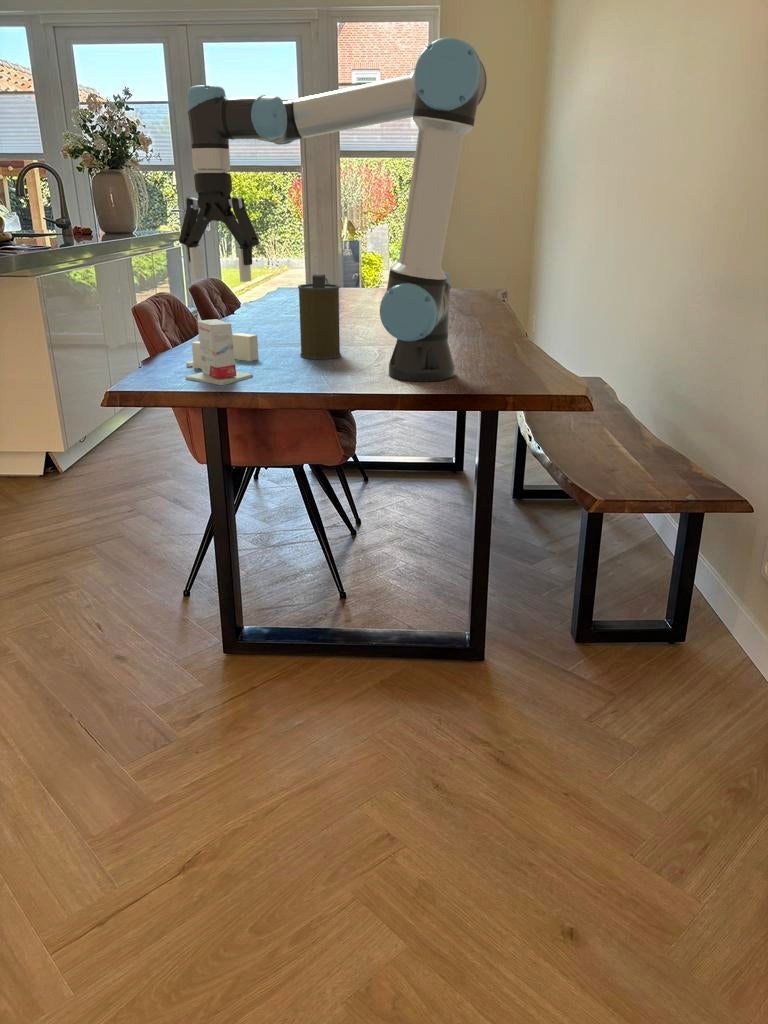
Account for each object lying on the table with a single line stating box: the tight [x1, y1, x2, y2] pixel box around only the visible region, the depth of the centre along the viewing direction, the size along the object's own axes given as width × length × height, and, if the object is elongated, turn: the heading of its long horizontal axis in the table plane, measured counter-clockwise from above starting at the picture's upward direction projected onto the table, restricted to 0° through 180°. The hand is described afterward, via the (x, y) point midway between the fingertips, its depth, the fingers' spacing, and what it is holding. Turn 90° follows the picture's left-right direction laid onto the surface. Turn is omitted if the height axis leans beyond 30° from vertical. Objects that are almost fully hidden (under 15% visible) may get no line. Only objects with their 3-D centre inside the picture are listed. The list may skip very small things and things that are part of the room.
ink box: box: [197, 318, 237, 379], centre depth 169 cm, size 9×5×12 cm, turn 34°
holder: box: [185, 332, 259, 370], centre depth 186 cm, size 8×16×6 cm, turn 149°
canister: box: [297, 273, 342, 360], centre depth 193 cm, size 11×10×20 cm
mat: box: [185, 371, 254, 386], centre depth 172 cm, size 11×10×1 cm
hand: (221, 280), depth 164 cm, fingers open, 13 cm apart
